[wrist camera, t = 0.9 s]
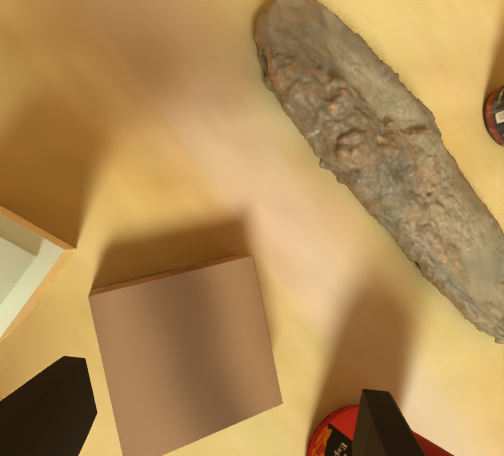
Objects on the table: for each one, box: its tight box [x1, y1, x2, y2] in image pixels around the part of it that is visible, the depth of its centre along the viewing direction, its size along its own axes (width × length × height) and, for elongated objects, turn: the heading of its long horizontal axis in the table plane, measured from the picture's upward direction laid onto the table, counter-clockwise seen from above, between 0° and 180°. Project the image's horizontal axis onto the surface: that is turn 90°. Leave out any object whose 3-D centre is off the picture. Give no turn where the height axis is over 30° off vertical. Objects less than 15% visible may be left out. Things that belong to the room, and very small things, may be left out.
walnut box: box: [88, 255, 283, 456], centre depth 21 cm, size 9×9×4 cm
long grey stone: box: [254, 0, 504, 344], centre depth 28 cm, size 35×5×10 cm
